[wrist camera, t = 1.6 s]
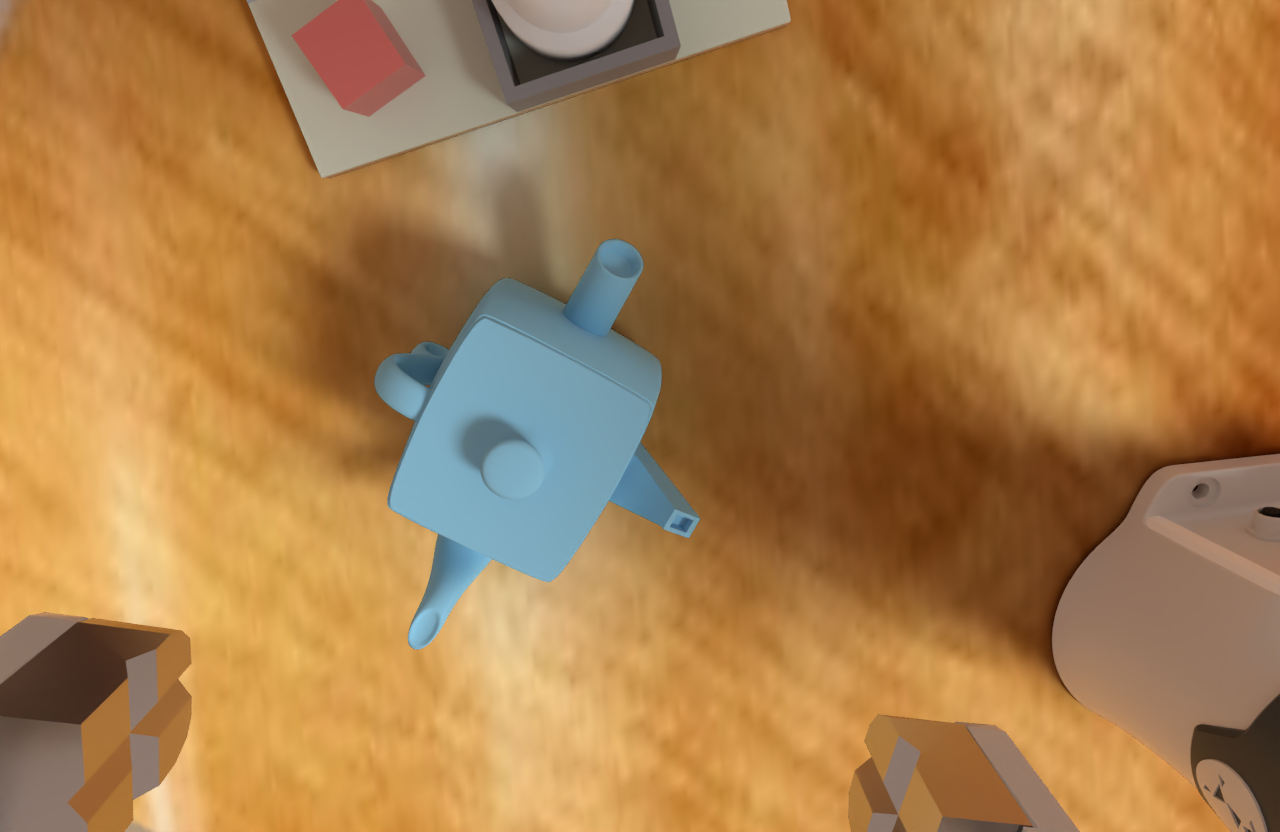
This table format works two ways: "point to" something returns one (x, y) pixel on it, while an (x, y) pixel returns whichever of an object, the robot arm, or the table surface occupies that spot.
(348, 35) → the red cube
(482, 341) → the teapot
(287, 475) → the table surface
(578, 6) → the dome
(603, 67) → the board
